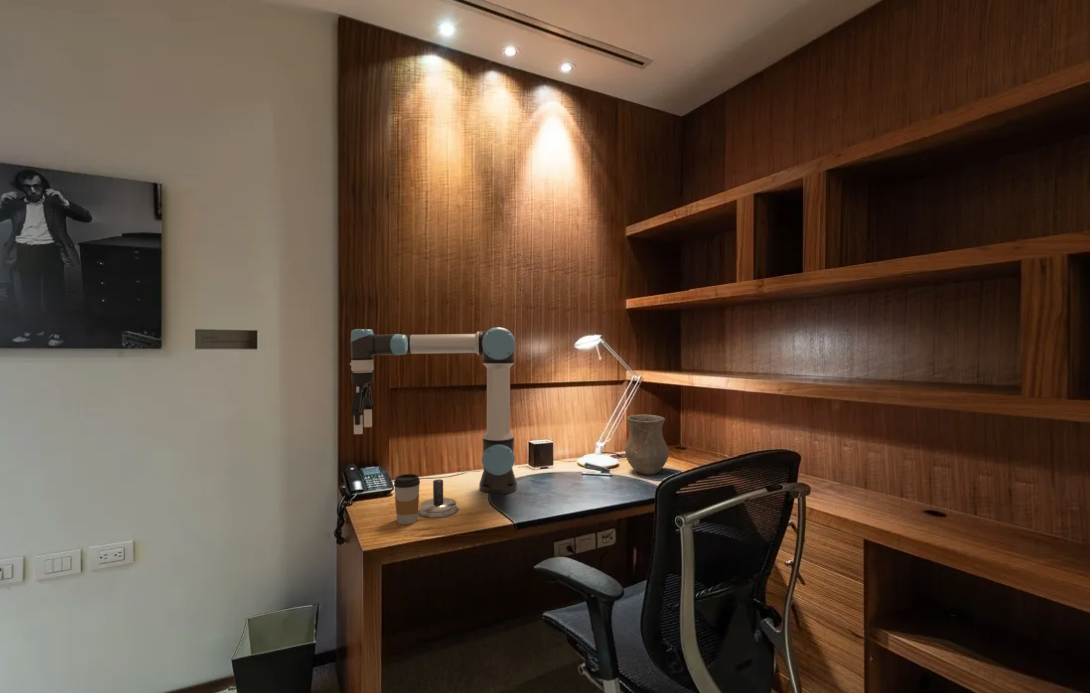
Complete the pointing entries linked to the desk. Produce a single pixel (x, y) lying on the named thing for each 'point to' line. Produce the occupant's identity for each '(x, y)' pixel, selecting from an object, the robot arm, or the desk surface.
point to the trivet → (439, 517)
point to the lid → (438, 503)
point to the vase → (646, 444)
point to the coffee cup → (407, 498)
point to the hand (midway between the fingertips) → (363, 430)
